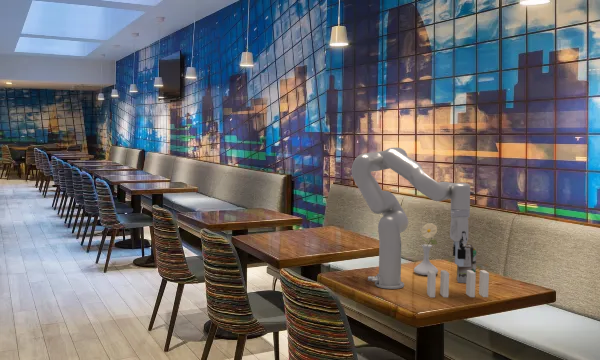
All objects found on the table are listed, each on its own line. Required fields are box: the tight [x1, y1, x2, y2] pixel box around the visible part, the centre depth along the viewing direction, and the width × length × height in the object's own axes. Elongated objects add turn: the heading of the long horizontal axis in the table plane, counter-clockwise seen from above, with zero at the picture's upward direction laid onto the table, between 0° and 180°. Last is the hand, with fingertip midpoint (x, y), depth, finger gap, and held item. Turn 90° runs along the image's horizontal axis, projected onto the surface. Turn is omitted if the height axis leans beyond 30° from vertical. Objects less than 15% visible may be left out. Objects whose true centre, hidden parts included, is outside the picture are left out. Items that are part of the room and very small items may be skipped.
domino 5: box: [478, 269, 490, 298], centre depth 245 cm, size 2×5×10 cm, turn 3°
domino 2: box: [439, 269, 450, 298], centre depth 244 cm, size 2×5×10 cm, turn 3°
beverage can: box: [472, 247, 477, 273], centre depth 283 cm, size 8×8×12 cm
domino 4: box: [465, 270, 477, 298], centre depth 244 cm, size 2×5×10 cm, turn 3°
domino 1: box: [426, 270, 437, 298], centre depth 243 cm, size 2×5×10 cm, turn 3°
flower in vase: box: [413, 222, 439, 276], centre depth 279 cm, size 13×11×25 cm
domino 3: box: [454, 240, 464, 266], centre depth 243 cm, size 2×5×10 cm, turn 3°
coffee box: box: [456, 243, 474, 284], centre depth 268 cm, size 9×6×16 cm
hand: (459, 256), depth 243 cm, fingers closed on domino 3, 4 cm apart
